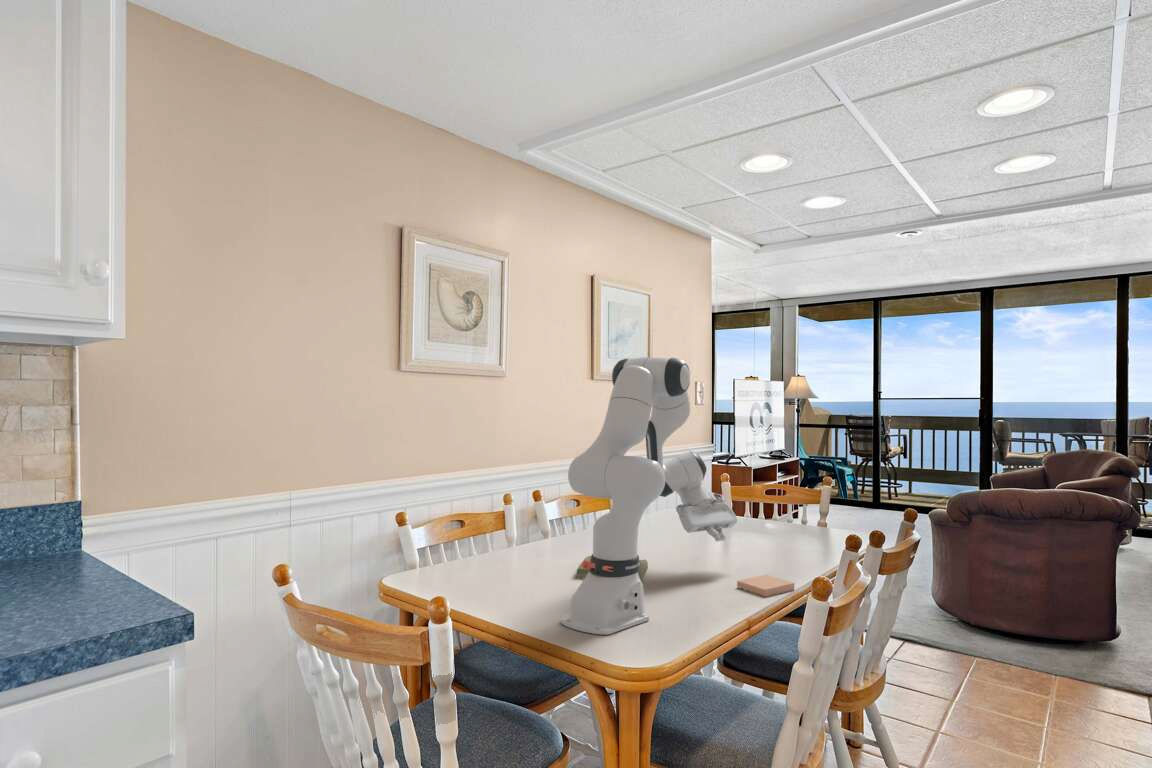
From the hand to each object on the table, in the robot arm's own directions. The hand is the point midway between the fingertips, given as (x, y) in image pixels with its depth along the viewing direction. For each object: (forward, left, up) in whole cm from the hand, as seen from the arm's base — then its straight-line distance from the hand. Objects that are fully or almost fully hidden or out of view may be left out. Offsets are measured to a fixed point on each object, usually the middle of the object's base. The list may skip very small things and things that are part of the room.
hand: (721, 539), depth 192 cm
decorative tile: (-18, +27, -11) cm, 35 cm away
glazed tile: (-4, -11, -10) cm, 15 cm away
